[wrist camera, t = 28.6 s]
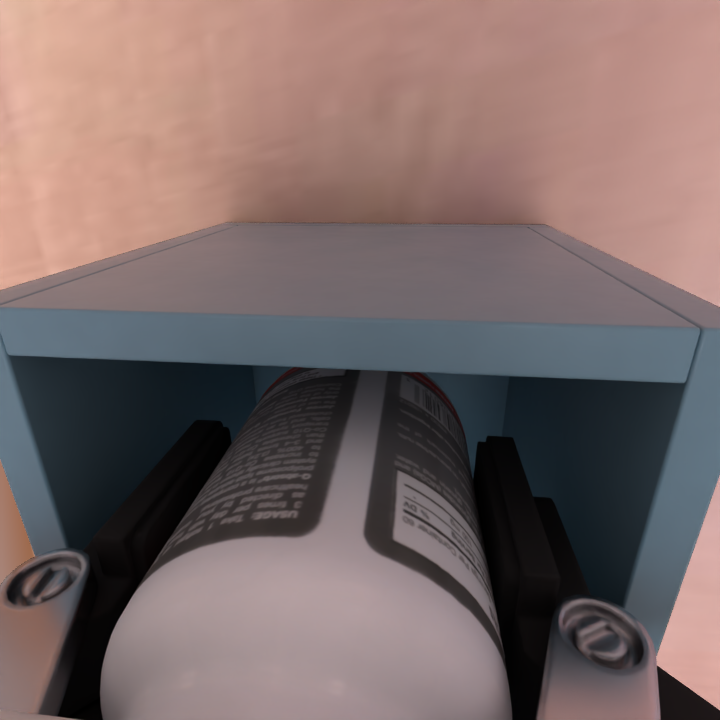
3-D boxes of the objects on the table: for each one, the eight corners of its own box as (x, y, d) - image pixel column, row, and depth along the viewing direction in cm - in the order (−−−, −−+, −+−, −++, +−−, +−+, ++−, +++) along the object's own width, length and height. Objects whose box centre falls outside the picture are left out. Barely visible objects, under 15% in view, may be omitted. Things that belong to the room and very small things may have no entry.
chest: (225, 222, 17) (-57, 305, 7) (547, 224, 16) (773, 330, 6) (262, 552, 24) (140, 852, 13) (497, 572, 22) (564, 922, 12)
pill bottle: (257, 503, 14) (-32, 1105, 5) (260, 327, 12) (-243, 844, 3) (446, 535, 14) (495, 1246, 5) (485, 359, 12) (724, 1069, 2)
